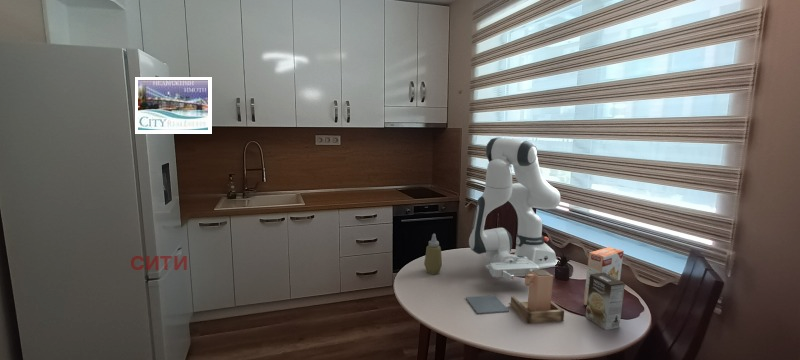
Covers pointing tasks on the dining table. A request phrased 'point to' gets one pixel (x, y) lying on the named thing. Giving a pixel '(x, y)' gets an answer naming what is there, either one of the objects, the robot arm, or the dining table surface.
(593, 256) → the cracker box
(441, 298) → the dining table surface
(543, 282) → the jug
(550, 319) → the tray
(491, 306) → the coaster
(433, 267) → the squeeze bottle
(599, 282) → the coffee box
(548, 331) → the dining table surface
